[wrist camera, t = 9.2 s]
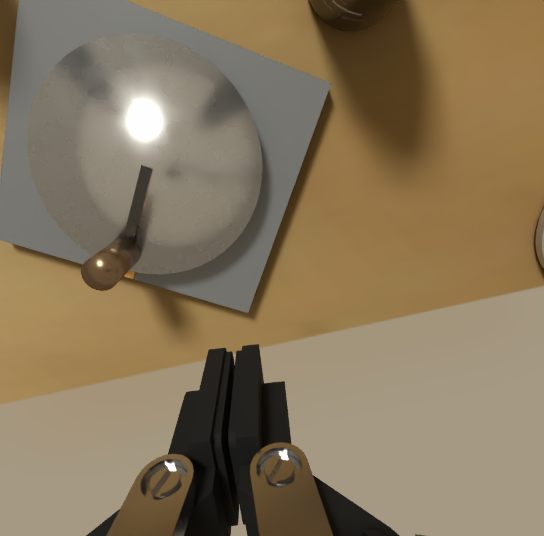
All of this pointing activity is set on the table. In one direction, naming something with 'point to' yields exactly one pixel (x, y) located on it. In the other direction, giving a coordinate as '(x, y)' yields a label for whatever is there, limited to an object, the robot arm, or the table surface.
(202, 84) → the dial
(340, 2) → the supplement bottle
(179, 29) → the base plate
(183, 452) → the robot arm
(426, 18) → the table surface
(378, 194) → the table surface
